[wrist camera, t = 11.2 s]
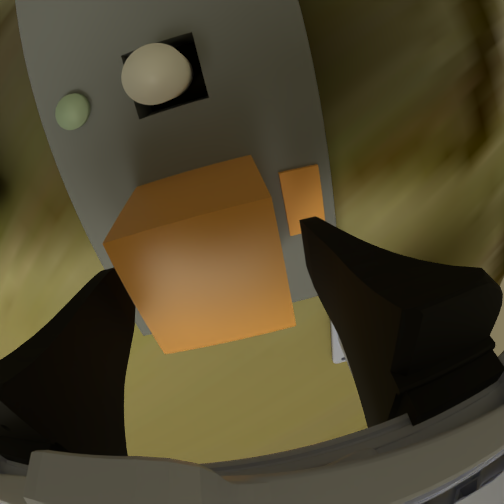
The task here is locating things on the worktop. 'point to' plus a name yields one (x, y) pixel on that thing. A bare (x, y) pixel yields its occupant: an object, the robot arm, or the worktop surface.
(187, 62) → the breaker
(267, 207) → the orange cube
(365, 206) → the worktop surface
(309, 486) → the robot arm
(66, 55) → the board
